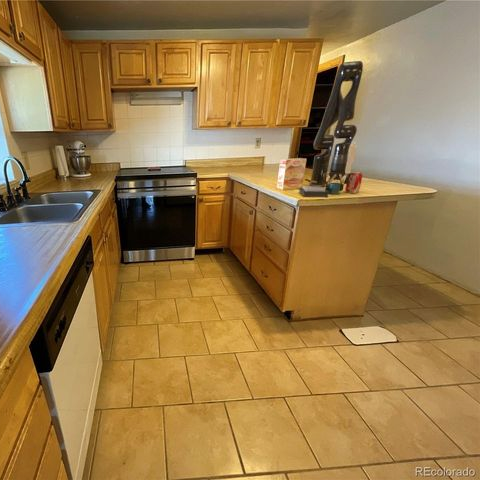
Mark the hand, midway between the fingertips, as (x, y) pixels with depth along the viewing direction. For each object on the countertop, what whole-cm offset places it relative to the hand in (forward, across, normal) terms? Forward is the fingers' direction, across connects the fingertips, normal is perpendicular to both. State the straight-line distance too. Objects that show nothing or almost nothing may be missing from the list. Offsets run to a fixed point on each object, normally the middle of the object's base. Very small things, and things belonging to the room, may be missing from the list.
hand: (333, 190), depth 160 cm
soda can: (+2, -11, -4) cm, 12 cm away
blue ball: (+2, 0, 0) cm, 2 cm away
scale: (+2, +12, +4) cm, 13 cm away
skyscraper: (+2, -18, -42) cm, 46 cm away
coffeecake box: (+2, +22, -16) cm, 27 cm away
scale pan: (-1, +12, +4) cm, 13 cm away
